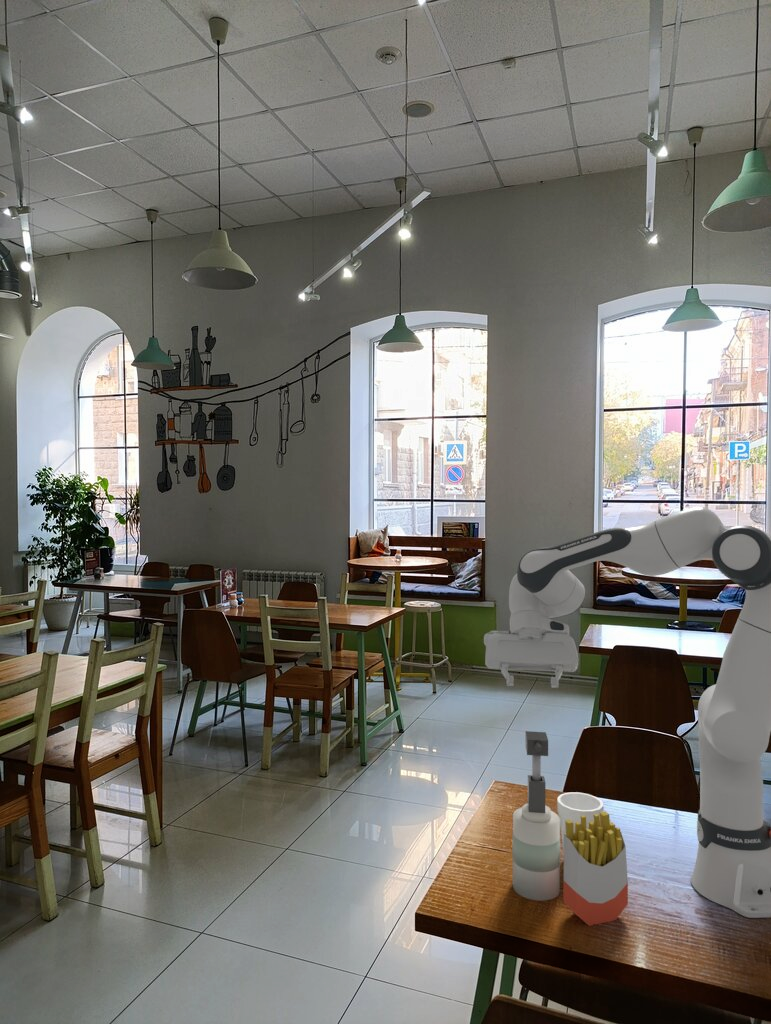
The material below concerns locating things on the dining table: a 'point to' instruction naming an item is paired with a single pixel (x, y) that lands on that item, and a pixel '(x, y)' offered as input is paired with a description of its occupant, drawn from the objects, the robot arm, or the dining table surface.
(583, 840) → the french fries container
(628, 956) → the dining table surface
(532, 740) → the pump head
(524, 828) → the syrup bottle
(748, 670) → the robot arm
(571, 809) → the foam cup
